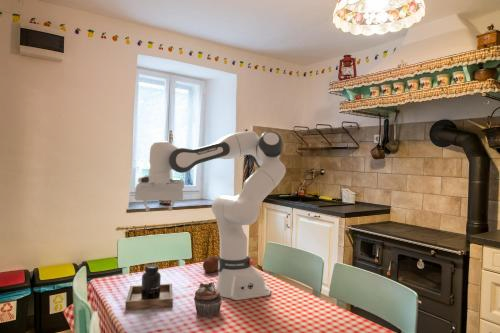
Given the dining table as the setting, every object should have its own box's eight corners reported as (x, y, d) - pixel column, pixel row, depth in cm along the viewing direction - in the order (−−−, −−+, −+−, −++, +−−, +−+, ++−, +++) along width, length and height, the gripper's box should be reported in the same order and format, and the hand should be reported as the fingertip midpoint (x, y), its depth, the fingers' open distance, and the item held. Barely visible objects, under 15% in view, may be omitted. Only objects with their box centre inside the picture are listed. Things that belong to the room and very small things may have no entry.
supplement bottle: (154, 302, 125) (155, 269, 125) (137, 300, 127) (138, 267, 127) (163, 295, 132) (163, 264, 132) (147, 293, 133) (147, 262, 133)
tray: (171, 291, 139) (172, 283, 139) (172, 307, 123) (172, 298, 123) (130, 293, 135) (130, 286, 135) (125, 310, 120) (125, 301, 120)
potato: (198, 273, 162) (198, 257, 162) (208, 267, 172) (208, 252, 172) (214, 275, 159) (215, 259, 159) (224, 269, 169) (224, 254, 169)
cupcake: (197, 320, 113) (198, 290, 113) (191, 309, 122) (192, 281, 122) (225, 316, 117) (226, 287, 117) (217, 305, 126) (217, 278, 126)
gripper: (183, 178, 154) (183, 209, 154) (135, 178, 149) (135, 210, 149) (184, 179, 147) (183, 211, 147) (134, 178, 143) (133, 211, 143)
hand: (158, 210), depth 148 cm, fingers open, 8 cm apart
